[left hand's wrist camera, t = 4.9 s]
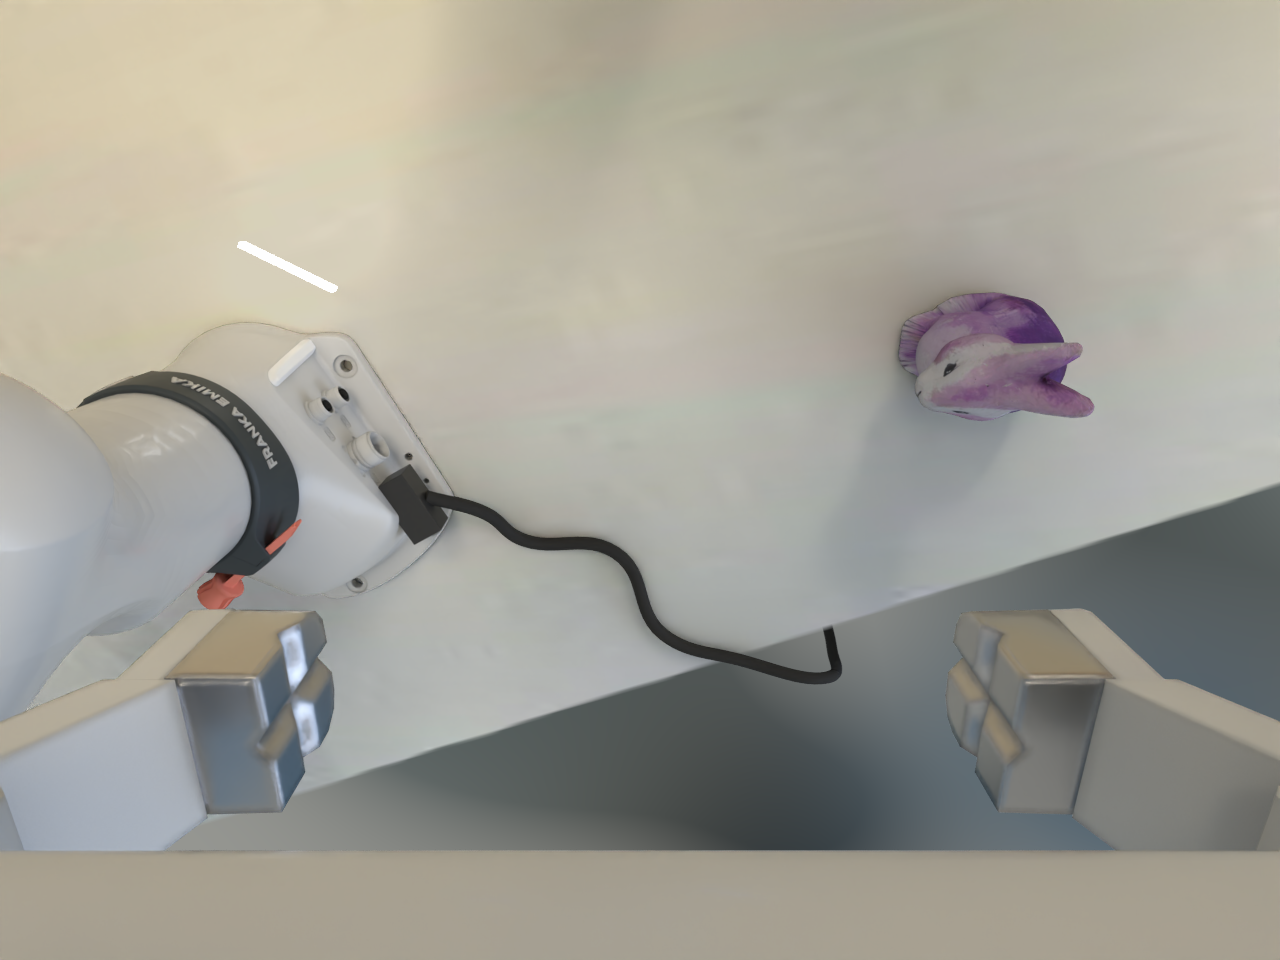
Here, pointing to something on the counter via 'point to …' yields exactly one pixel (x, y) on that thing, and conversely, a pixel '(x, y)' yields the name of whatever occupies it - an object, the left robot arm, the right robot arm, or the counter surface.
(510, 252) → the counter surface
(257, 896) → the left robot arm
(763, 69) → the counter surface
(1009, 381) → the figurine
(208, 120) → the counter surface
